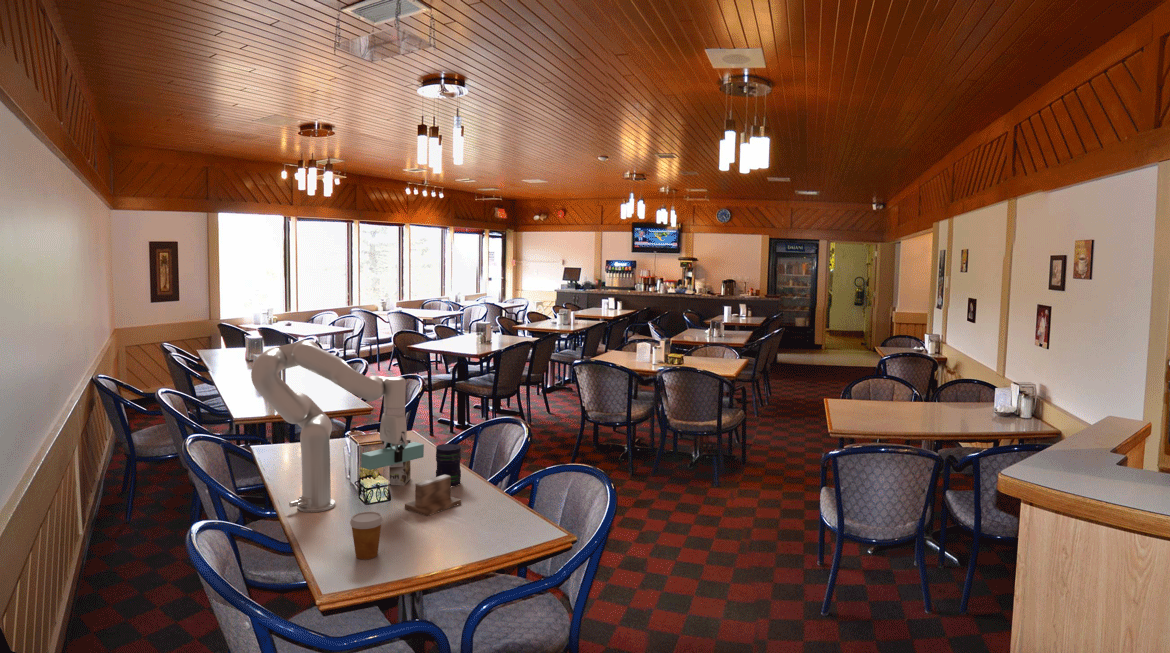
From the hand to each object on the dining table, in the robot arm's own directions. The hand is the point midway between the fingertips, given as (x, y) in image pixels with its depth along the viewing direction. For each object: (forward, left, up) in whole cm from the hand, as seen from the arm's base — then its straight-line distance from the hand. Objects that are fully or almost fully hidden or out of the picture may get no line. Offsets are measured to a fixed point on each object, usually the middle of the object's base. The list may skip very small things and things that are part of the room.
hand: (393, 459), depth 256 cm
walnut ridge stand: (+6, -14, -16) cm, 22 cm away
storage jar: (+27, +1, -16) cm, 32 cm away
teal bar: (0, 0, -1) cm, 1 cm away
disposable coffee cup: (-35, -31, -16) cm, 49 cm away
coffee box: (+16, +17, -16) cm, 28 cm away
